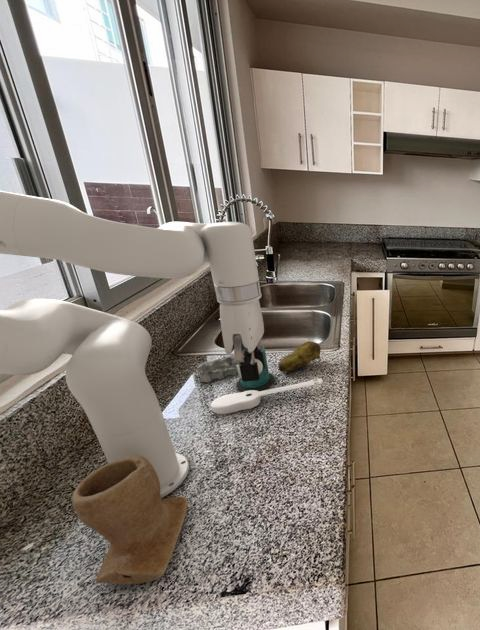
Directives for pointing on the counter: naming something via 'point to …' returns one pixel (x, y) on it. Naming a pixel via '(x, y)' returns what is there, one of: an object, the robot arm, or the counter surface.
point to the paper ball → (259, 365)
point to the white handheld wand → (251, 398)
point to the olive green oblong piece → (300, 357)
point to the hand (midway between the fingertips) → (254, 373)
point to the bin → (263, 375)
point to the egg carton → (217, 369)
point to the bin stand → (256, 387)
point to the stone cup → (130, 519)
